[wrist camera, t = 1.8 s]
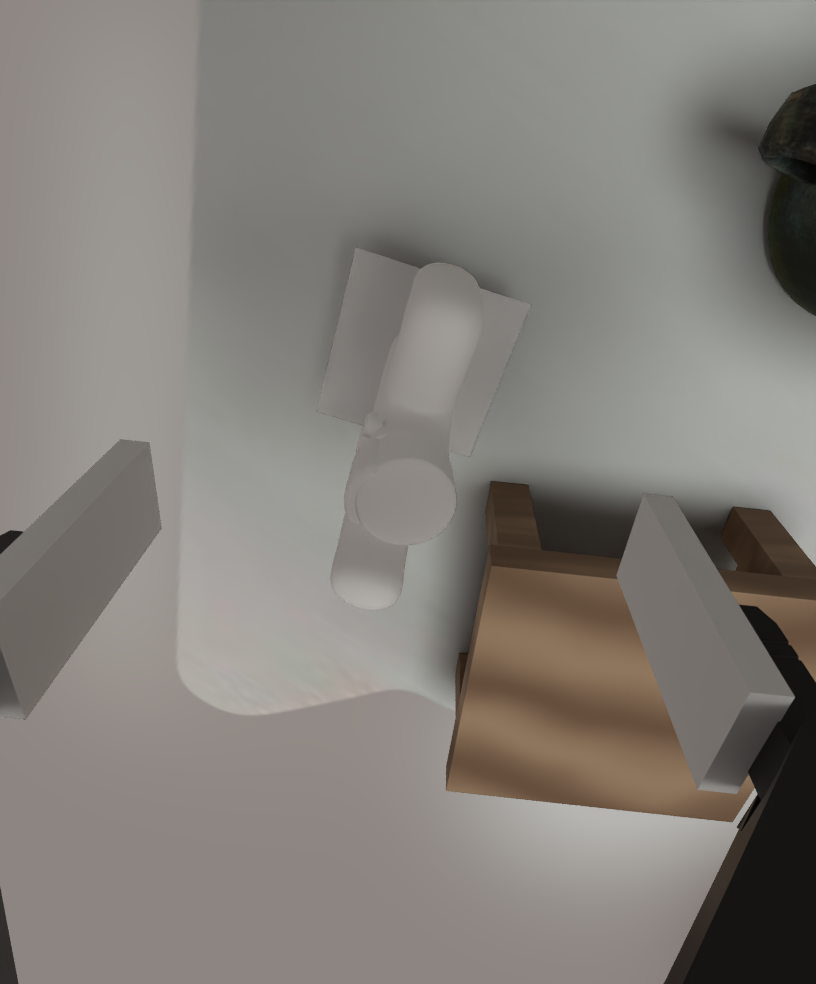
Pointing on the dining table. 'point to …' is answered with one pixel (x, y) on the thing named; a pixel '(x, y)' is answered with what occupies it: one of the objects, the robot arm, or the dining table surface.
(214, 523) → the dining table surface
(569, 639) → the walnut stool
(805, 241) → the mug
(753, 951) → the robot arm
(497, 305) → the figurine
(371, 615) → the dining table surface
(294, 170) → the dining table surface
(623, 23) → the dining table surface
